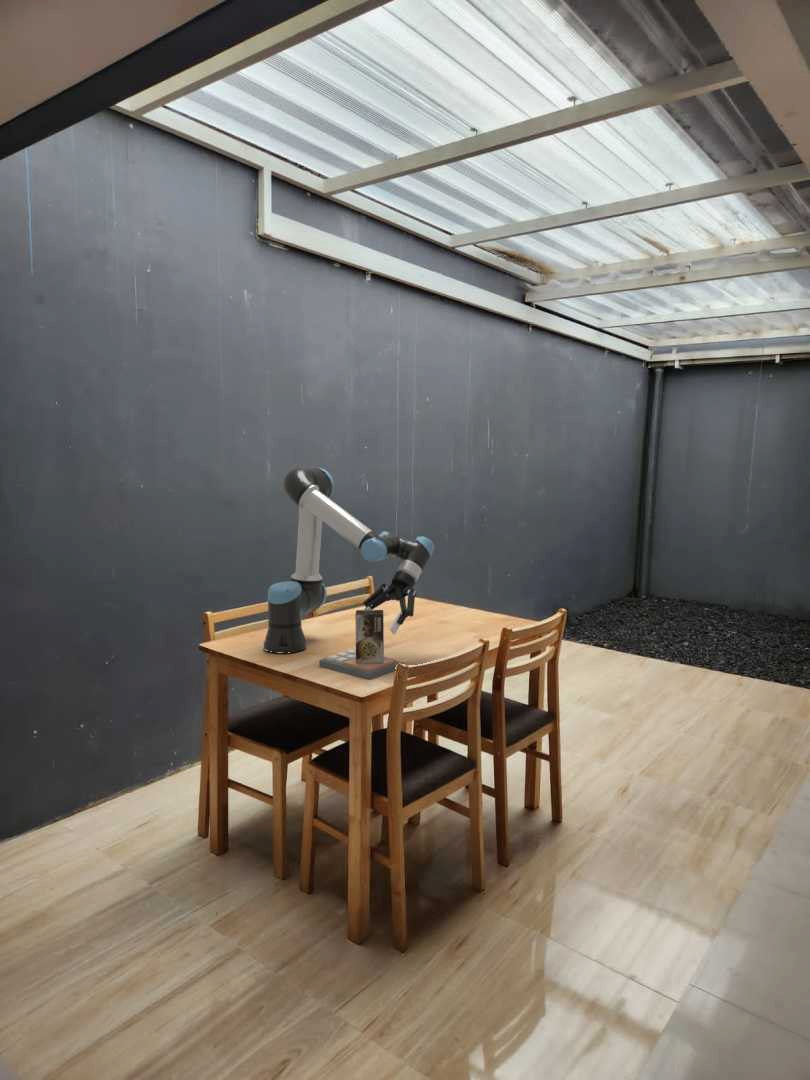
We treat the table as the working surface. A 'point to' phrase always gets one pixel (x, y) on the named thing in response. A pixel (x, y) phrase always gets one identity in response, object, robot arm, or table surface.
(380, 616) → the coffee box
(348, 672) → the keypad
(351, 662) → the reddish brown flat slab
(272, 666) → the table surface
